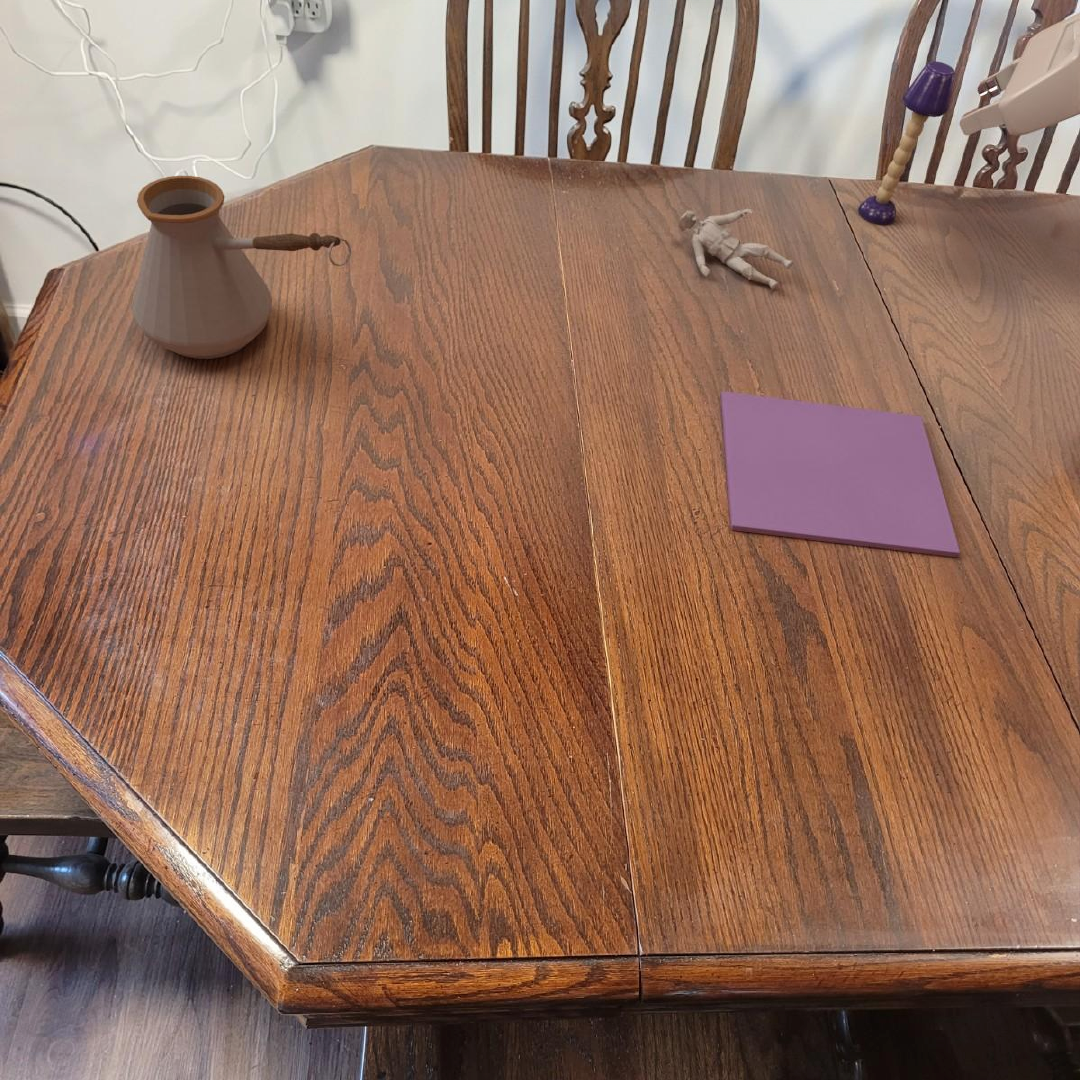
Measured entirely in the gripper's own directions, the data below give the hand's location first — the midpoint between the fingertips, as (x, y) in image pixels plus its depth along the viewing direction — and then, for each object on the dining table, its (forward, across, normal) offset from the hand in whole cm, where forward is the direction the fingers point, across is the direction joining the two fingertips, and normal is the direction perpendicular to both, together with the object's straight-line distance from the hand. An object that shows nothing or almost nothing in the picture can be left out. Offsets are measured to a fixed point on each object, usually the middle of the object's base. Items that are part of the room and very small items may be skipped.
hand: (971, 108), depth 96 cm
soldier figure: (+20, +21, -1) cm, 29 cm away
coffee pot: (+42, +59, -23) cm, 76 cm away
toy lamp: (+13, +1, +6) cm, 14 cm away
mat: (+8, +45, +11) cm, 47 cm away
